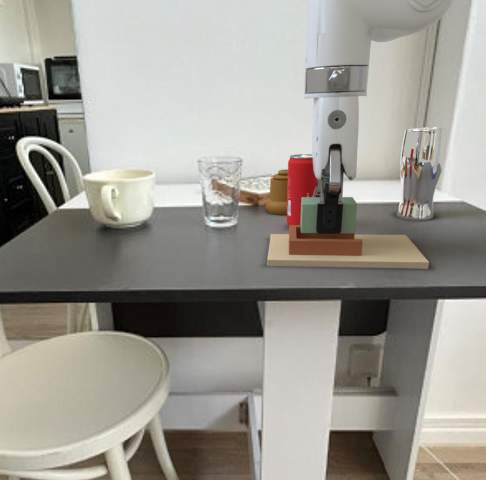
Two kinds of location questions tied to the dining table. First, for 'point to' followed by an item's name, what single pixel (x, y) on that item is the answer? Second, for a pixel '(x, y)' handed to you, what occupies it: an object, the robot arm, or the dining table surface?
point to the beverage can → (299, 185)
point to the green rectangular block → (310, 214)
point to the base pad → (343, 250)
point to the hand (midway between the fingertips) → (326, 226)
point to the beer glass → (420, 171)
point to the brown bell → (278, 193)
